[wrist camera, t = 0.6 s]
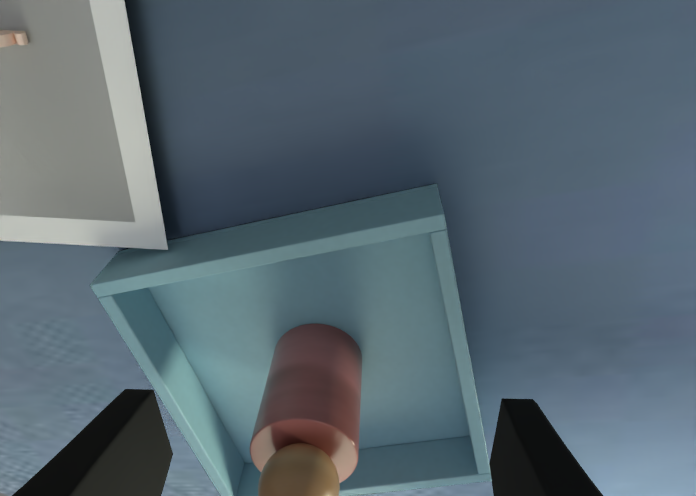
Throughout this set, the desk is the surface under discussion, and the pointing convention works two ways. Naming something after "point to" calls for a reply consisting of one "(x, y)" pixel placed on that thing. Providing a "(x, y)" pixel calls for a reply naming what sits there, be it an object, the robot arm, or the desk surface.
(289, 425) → the peg doll
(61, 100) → the touchpad
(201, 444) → the baking pan
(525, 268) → the desk surface
